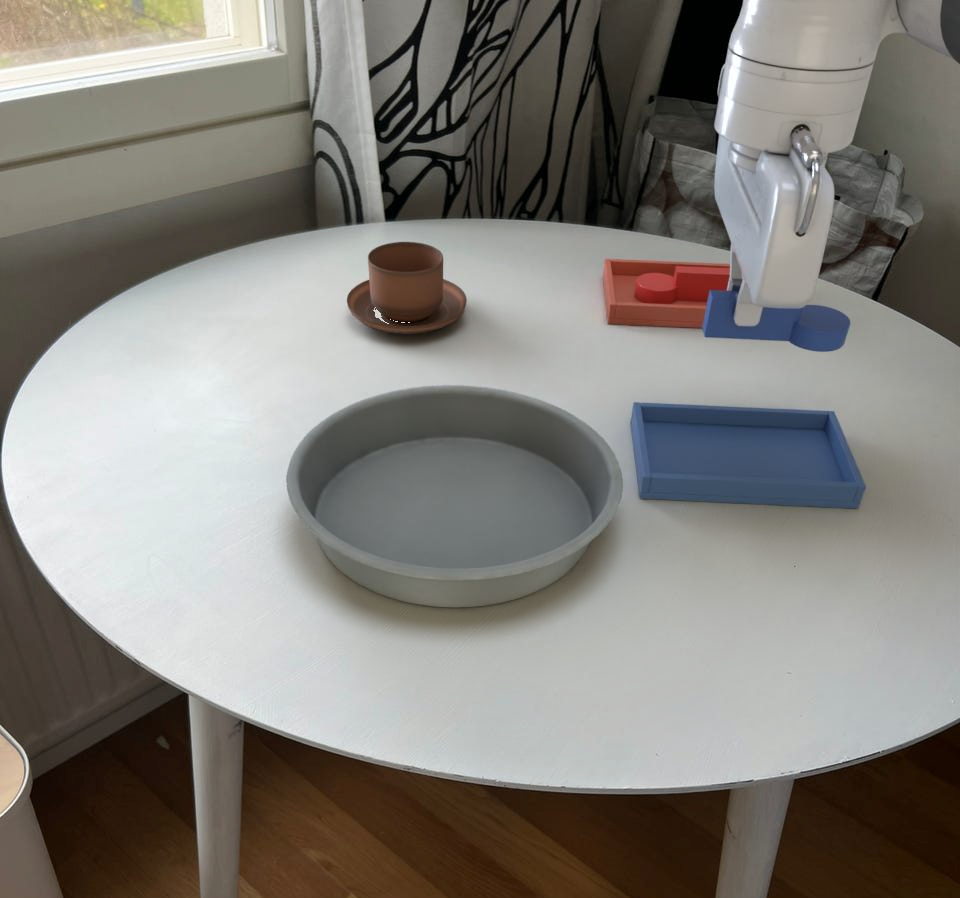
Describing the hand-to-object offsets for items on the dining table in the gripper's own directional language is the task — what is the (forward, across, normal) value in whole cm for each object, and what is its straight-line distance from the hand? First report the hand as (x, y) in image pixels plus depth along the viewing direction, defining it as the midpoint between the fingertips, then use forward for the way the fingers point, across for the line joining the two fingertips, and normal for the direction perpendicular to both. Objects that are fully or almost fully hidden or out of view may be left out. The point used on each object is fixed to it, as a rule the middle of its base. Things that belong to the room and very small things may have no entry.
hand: (741, 312), depth 70 cm
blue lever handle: (+2, 0, -2) cm, 3 cm away
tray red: (+13, +30, -2) cm, 33 cm away
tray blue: (+13, 0, -3) cm, 13 cm away
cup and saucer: (+13, +24, +27) cm, 39 cm away
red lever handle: (+12, +30, -2) cm, 32 cm away
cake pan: (+13, -9, +20) cm, 26 cm away
